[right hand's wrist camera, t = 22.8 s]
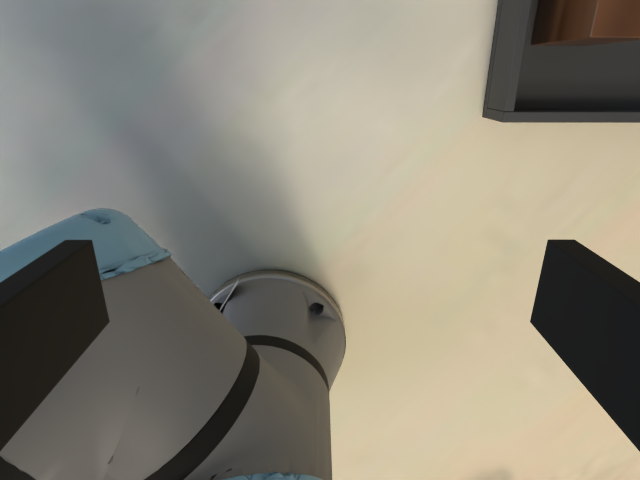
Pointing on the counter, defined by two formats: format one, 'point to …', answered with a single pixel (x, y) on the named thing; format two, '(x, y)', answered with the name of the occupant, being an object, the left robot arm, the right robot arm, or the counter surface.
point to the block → (586, 22)
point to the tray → (558, 75)
